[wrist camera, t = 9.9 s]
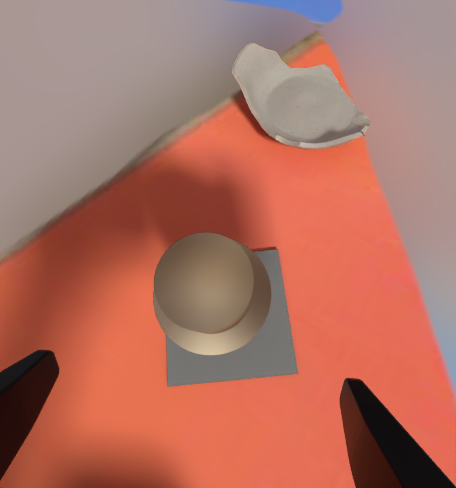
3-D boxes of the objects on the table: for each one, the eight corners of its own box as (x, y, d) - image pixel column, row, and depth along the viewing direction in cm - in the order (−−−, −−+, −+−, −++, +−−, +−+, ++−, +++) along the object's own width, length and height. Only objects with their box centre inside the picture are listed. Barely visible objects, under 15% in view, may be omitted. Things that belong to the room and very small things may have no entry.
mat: (297, 373, 20) (298, 373, 19) (168, 386, 20) (167, 386, 20) (277, 250, 23) (277, 249, 22) (165, 262, 23) (164, 261, 23)
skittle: (247, 361, 20) (250, 387, 8) (180, 335, 21) (102, 325, 9) (269, 293, 21) (298, 235, 10) (207, 270, 22) (166, 194, 11)
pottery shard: (361, 174, 25) (388, 134, 20) (232, 175, 25) (229, 137, 21) (348, 82, 28) (368, 30, 23) (235, 86, 29) (232, 36, 24)
